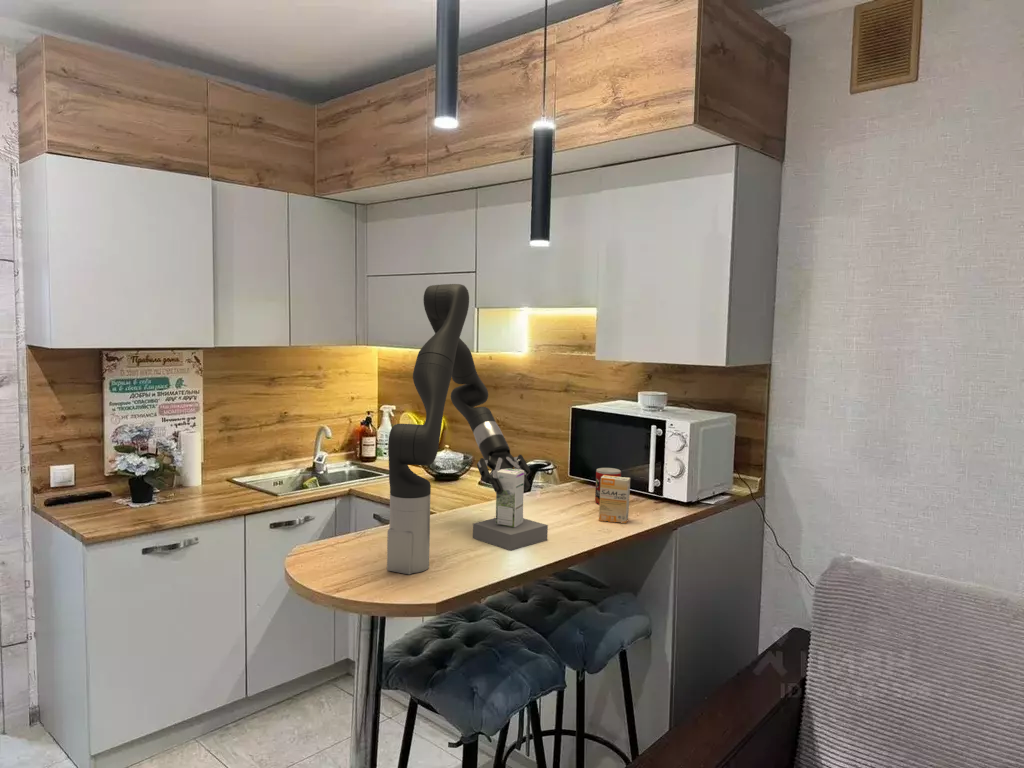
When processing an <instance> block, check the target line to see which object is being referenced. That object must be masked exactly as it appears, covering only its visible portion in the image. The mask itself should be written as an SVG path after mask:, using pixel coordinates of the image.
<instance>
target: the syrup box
mask: <svg viewBox="0 0 1024 768" xmlns="http://www.w3.org/2000/svg"><path fill="white" fill-rule="evenodd" d="M524 470H525V469H524ZM524 470H518V469H515V468H513V469H501V470H499V471H497V479H499V481H500V483H501V485H502V488H503V492H502V493H501V494H499V495H498V494H497V493H496V492H495V494H496V495H495V518H496V525H502V526H508V527H517V526H518V525H520V524H522V523H523V518H524V496H525V495H524V492H525V491H524Z"/></svg>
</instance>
